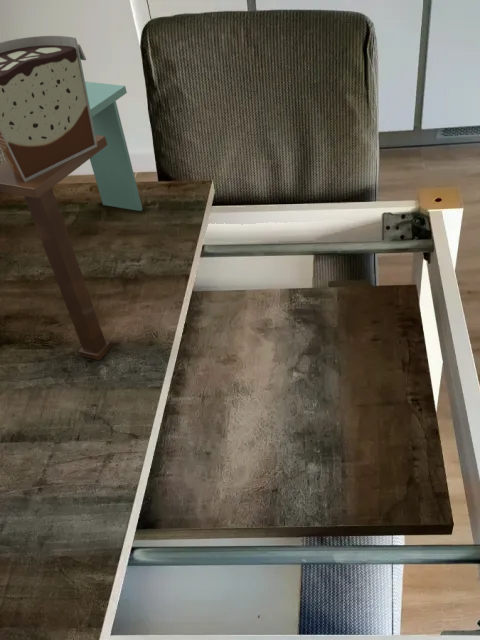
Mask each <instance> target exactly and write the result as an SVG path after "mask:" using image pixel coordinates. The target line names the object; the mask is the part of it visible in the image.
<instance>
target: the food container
mask: <svg viewBox="0 0 480 640" xmlns="http://www.w3.org/2000/svg"><path fill="white" fill-rule="evenodd" d="M86 60H87V57H86V56H85V53H84V51H83V49H82V46H81V44H78V40H77V37H73V36H69V35H68V36H67V35H66V36H65V35H34V36H26V37H19V38H13V39H8V40H4V41H1V42H0V149H1V151H2V153H3V155H4V157H5V159H6V160H7V161H8V163H9V165H10V167H11V169H12V171H13V173H14V175H15V176H16V178H18V179H19V180H21V181H23V182H26V181H29V180H31V179H33V178H35V177H37V176H39V175H41V174H43V173H45V172H47V171H49V170H51V169H53V168H55V167H57V166H59V165H61V164H63V163H65V162H67V161H69V160H71V159H73V158H75V157H77V156H79V155H81V154H83V153H85V152H87V151H89V150H91V149H93V148H95V147H97V142H96V137H95V131H94V126H93V121H92V116H91V111H90V105H89V100H88V95H87V90H86V85H85V82H86V81H85V75H84V71H83V70H84V69H83V65H82V61H86Z"/></svg>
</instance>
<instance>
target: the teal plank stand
mask: <svg viewBox="0 0 480 640" xmlns="http://www.w3.org/2000/svg"><path fill="white" fill-rule="evenodd" d="M85 85H86V90H87V95H88V100H89V105H90V111H91V116H92V121H93V126H94V131H95V135H100V136H105V138H106V142H107V146H106V147H104V148H103V149H102V150H100V151H99V152H98V153H97V154H95V155H94V156H93V157H91V158H90V159H89V162H90V165H91V168H92V172H93V175H94V179H95V181H96V185H97V188H98V193H99V196H100V200H101V203H102V206H106V207H107V206H108V207H111V208H113V207H114V208H118V209H119V208H120V209H126V210H132V211H139V212H142V211H143V206H142V202H141V197H140V193H139V189H138V185H137V181H136V177H135V173H134V169H133V165H132V161H131V157H130V153H129V148H128V144H127V141H126V137H125V133H124V129H123V125H122V121H121V116H120V112H119V109H118V105H117V100H119V99H120V98H123V96H125V95H127V93H128V91H127V88H126V86H125V85H120V84H113V83H112V84H111V83H104V82H94V81H93V82H92V81H85Z"/></svg>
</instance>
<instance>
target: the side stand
mask: <svg viewBox="0 0 480 640" xmlns="http://www.w3.org/2000/svg"><path fill="white" fill-rule="evenodd" d="M95 137H96V142H97V147H95V148H93V149H91V150H89V151H87V152H85V153H83V154H81V155H79V156H77V157H75V158H73V159H71V160H69V161H67V162H65V163H63V164H61V165H59V166H57V167H55V168H53V169H51V170H49V171H47V172H45V173H43V174H41V175H39V176H37V177H35V178H33V179H31V180H29V181H26V182H23V181H21V180H19V179H18V178H16V176H15V175H14V173H13V171H12V169H11V167H10V165H9V163H8V161H7V159H6V160H5V161H3V162H2V163H0V193H3V194H9V195H15V196H22V197H24V199H25V200H24V201H25V202H26V205H27V208H28V210H29V212H30V215H31V218H32V221H33V223H34V226H35V228H36V231H37V233H38V236H39V238H40V241H41V245H42V247H43V249H44V252H45V254H46V257H47V260H48V262H49V265H50V267H51V270H52V273H53V275H54V278H55V280H56V283H57V286H58V288H59V291H60V293H61V296H62V299H63V301H64V304H65V306H66V310H67V312H68V314H69V317H70V319H71V322H72V324H73V328H74V330H75V332H76V336H77V338H78V340H79V343H80V345H81V348H80V349H79V350H78V354H79V356H80V357H84V358H88V359H92V360H97V361H101V360H102V358H103V357H104V356H105V355H106V354H107V353H108V352H109V351H110V349H111V348H112V347H113V345H112V343H111V341H109V340H106V339H105V336H104V333H103V331H102V328H101V325H100V322H99V320H98V317H97V314H96V311H95V308H94V304H93V301H92V299H91V296H90V293H89V291H88V287H87V284H86V282H85V278H84V276H83V273H82V271H81V268H80V265H79V262H78V259H77V256H76V253H75V250H74V247H73V244H72V242H71V239H70V236H69V233H68V230H67V227H66V224H65V221H64V218H63V215H62V212H61V210H60V207H59V203H58V202H57V201H58V200H57V198H56V195H55V192H54V190H53V188H54V187H55V186H57V184H59V183H60V182H61V181H63V180H64V179H65V178H67V177H68V176H69V175H71V174H72V173H73V172H74V171H76V170H77V169H79V168H80V167H81V166H82V165H84V164H85V163H86V162H87V161H90V158H91V157H93V156H94V155H95V154H97V153H98V152H99V151H100V150H102V149H103V148H104V147H106V146H107V142H106V138H105V136H100V135H95Z"/></svg>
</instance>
